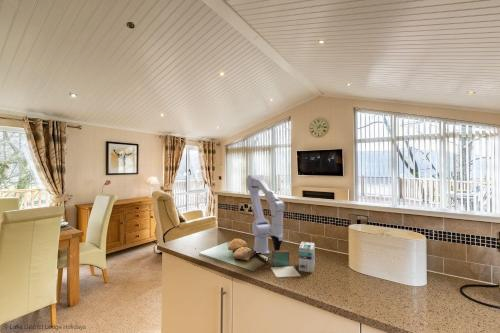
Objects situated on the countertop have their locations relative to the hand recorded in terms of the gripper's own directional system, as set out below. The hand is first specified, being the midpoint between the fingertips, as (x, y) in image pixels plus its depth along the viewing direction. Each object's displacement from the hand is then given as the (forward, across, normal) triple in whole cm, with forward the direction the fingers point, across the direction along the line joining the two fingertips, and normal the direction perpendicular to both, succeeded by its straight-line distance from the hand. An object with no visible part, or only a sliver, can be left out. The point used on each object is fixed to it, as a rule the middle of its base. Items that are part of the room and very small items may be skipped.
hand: (276, 250), depth 124 cm
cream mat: (+5, +14, 0) cm, 15 cm away
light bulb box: (+5, +10, +12) cm, 17 cm away
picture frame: (+5, +6, 0) cm, 8 cm away
